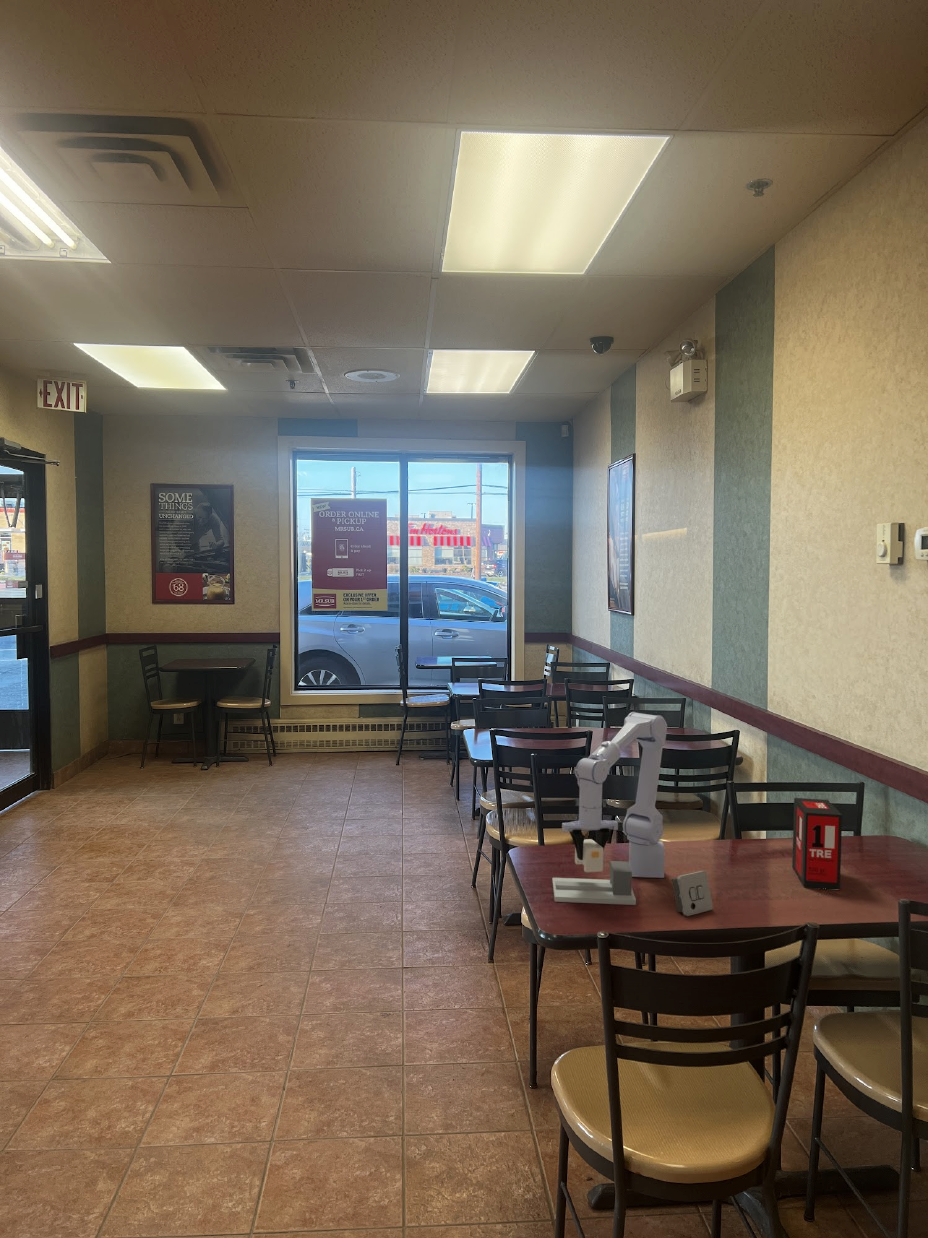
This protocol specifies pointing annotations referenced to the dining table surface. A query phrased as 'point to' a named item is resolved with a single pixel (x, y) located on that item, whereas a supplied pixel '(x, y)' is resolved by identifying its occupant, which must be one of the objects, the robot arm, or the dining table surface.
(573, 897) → the rail plate
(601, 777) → the robot arm
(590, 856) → the block
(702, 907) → the electrical switch
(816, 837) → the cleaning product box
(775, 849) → the dining table surface
